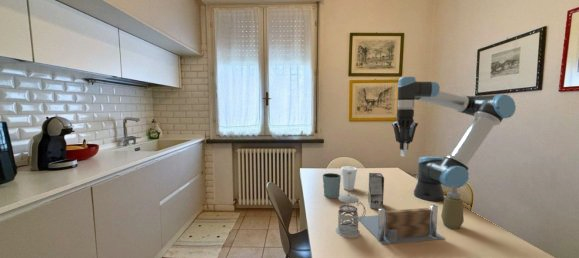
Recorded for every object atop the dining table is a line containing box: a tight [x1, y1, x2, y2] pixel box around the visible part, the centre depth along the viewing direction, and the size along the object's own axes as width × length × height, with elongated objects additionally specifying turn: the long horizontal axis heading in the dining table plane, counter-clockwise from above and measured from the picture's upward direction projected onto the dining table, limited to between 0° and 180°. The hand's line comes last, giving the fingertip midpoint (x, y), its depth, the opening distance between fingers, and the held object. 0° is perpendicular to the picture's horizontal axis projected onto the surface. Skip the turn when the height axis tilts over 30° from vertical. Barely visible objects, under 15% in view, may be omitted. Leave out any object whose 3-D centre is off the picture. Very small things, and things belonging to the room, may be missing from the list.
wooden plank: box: [385, 207, 431, 239], centre depth 95 cm, size 18×2×10 cm, turn 99°
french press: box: [335, 171, 367, 239], centre depth 99 cm, size 10×12×25 cm
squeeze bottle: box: [440, 185, 465, 230], centre depth 104 cm, size 8×8×18 cm
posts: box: [376, 204, 439, 243], centre depth 94 cm, size 24×4×12 cm, turn 99°
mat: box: [358, 214, 446, 245], centre depth 104 cm, size 26×23×1 cm
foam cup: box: [340, 165, 358, 191], centre depth 154 cm, size 10×9×13 cm
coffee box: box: [368, 172, 385, 210], centre depth 127 cm, size 9×6×16 cm
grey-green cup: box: [322, 172, 342, 199], centre depth 141 cm, size 10×10×12 cm
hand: (403, 156), depth 123 cm, fingers closed
